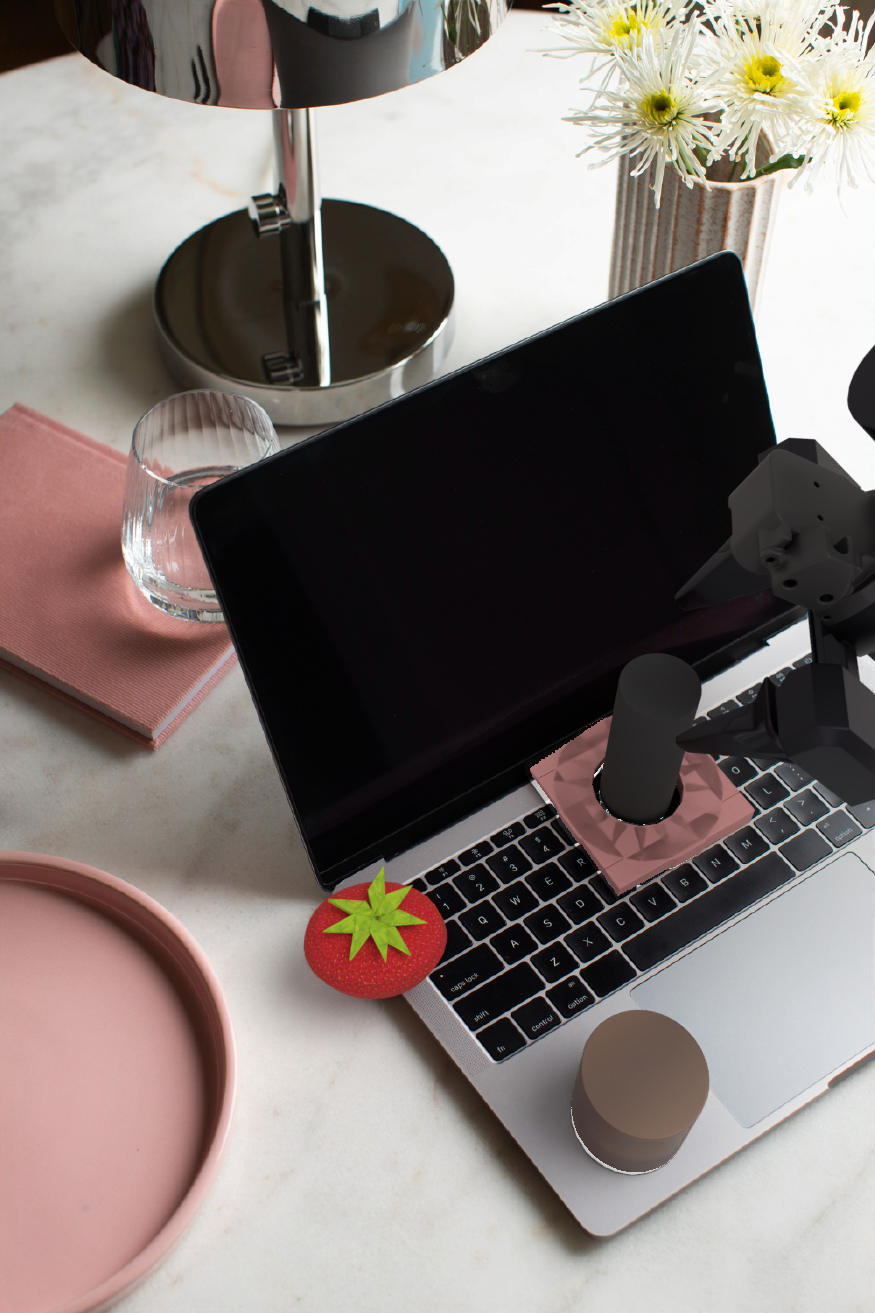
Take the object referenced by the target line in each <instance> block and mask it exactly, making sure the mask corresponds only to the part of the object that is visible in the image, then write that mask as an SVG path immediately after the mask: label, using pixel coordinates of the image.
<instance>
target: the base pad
mask: <svg viewBox="0 0 875 1313" xmlns="http://www.w3.org/2000/svg"><path fill="white" fill-rule="evenodd" d="M602 719H603V718H602ZM599 720H600V719H599ZM611 721H612V715H610V716H608V717H604V719H603V720H600V722H597V724H595V725H594V726H591V728H588V729H587V730H585V731H584V732H583V733H582V734H580V735H579V736H577V737H576V738H574V740H570V742H568V743H567V744H564V745H563V746H562V747H561V748H559V749H558V750H555V753H553V752H552V754H551V755H548V757H545V759H541V761H539V763H538V764H535V765H534V766H532V767H531V768H530V772H531V774H532V777H533V778H534V780H536V781H537V783H538V784H539V785H540V787H541V788H542V790H543V791H544V792H545V794H546V795H547V797H548V798H549V799H550V801H551V802H552V803H553V805H554V807H555V808H556V810H557V813H558V815H559V817H560V818H561V820H562V822H563V823H564V824H565V826H566V828H568V830H569V831H570V832H571V834H572V836H573V837H574V838H575V840H576V841H577V842H578V843H579V844H582V845H583V847H584V849H585V850H586V851H587V853H588V855H590V857H591V859H592V860H593V861H594V863H595V864H596V866H597V867H598V869H599V870H600V871H601V873H602V874H603V875H604V876H605V878H606V880H607V882H609V884H610V885H611V887H612V888H613V889H614V891H615V893H616V894H617V896H619V895H620V894H622V893H624V892H626V891H627V890H630V889H632V888H633V887H635V886H637V885H639V884H640V883H643V882H645V881H646V880H648V879H650V878H652V877H654V876H655V875H657V874H659V873H661V872H663V871H664V870H667V869H668V868H673V867H676V866H677V865H679V864H681V863H683V862H685V861H686V860H688V859H690V858H692V857H693V856H695V855H697V856H699V855H700V854H701V853H702V852H703V851H704V850H705V849H706V848H708V847H710V846H712V845H713V844H715V843H717V842H718V841H720V840H722V839H723V838H725V837H726V836H728V835H730V834H732V833H734V832H735V831H737V830H738V829H741V828H742V827H744V826H746V825H747V824H749V823H750V822H751V821H752V818H753V816H754V813H755V811H756V809H755V808H754V807H753V805H751V803H750V802H749V801H748V800H747V798H746V797H744V795H743V794H742V793H741V792H740V790H739V789H738V788H737V787H736V786H735V784H734V783H733V782H732V781H731V780H730V778H728V776H727V775H726V774H725V772H723V771H722V769H720V767H719V766H718V765H717V762H716V761H715V758H713V756H712V755H709V754H698V753H688V752H686V751H685V754H684V758H683V761H682V765H681V768H680V771H679V775H678V778H677V782H676V783H677V787H678V790H679V793H680V796H681V798H680V797H679V802H680V805H679V804H678V806H677V808H676V809H675V811H674V812H673V813H672V815H670V816H667V817H666V818H665V819H662V820H661V821H660V822H658V823H657V824H651V825H644V826H638V825H633V824H628V823H624V822H621V821H620V820H618V819H617V818H615V817H613V816H612V815H610V814H608V813H607V812H606V811H605V810H604V809H603V807H602V806H601V805H600V803H599V800H597V797H596V793H595V789H594V785H592V784H594V780H595V779H594V774H595V773H596V772H597V771H598V769H599V768H600V767H601V765H602V764H603V763H604V759H605V753H606V748H607V743H608V737H609V732H610V726H611ZM593 779H594V780H593ZM677 787H676V788H677ZM721 838H722V839H721ZM719 839H720V840H719ZM714 842H715V843H714ZM712 843H713V844H712ZM709 845H710V846H709ZM707 846H708V847H707ZM701 851H702V852H701ZM700 852H701V853H700ZM699 853H700V854H699ZM698 854H699V855H698ZM695 857H696V856H695ZM692 859H693V858H692ZM690 860H691V859H690ZM685 863H686V862H685ZM683 864H684V863H683ZM667 871H668V870H667Z"/></svg>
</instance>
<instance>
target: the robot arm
mask: <svg viewBox="0 0 875 1313" xmlns="http://www.w3.org/2000/svg"><path fill="white" fill-rule="evenodd" d="M847 390H848V391H847V396H846V403H847V404H846V405H847V409H848V411H849V413H850V415H851V417H852V418H853V420H854V421H855V423H857V424H858V425H859V426H860V428H861V429H862V430H863V431H864V432H865V433H866V434H867V436H868V437H870V439H872V441H873V442H875V344H874V345H873V346H872V347H871V348H870V349H869V350H868V351H867V353H866V354H865V355H864V356H863V358H862V359H861V360H860V362H859V364H858V366H857V367H856V369H855V371H854V372H853V375H852V377H851V380H850V382H849V385H848V389H847ZM757 461H758V465H757V466H756V467H755V468H754V469H753V470H752V471H751V472H750V473H749V474H748V476H746V477H745V478H744V479H743V481H742V482H741V483H739V485H738V486H737V487H736V488H735V489H734V490H733V491H732V492H731V493H730V495H728V499H727V501H728V502H727V507H728V509H729V510H730V511H731V529H732V532H731V533H732V534H731V535H730V536H729V538H728V539H727V540H726V541H725V543H723V544H722V546H721V547H720V548H718V550H717V551H716V552H715V553H714V554H713V555H712V556H711V557H710V558H709V559H708V560H707V561H706V562H705V563H704V564H703V565H702V566H701V567H700V568H699V569H698V570H697V571H696V572H695V574H694V575H693V576H692V577H690V579H689V580H688V581H686V583H685V584H684V585H683V586H682V587H681V588H680V589H679V590H678V591H677V592H676V594H674V597H673V599H674V600H673V601H674V602H673V603H674V604H675V605H677V606H678V607H679V608H680V609H682V610H683V611H691V610H695V609H702V608H706V607H711V606H714V605H719V604H722V603H725V602H728V601H731V600H734V599H738V598H741V597H745V596H747V595H750V594H754V593H757V592H758V593H759V592H761V591H764V590H767V589H771V593H772V594H773V595H774V596H775V597H778V598H779V599H782V600H785V601H787V602H789V603H792V604H794V605H797V606H798V607H799V606H800V607H801V608H805V609H806V610H807V611H806V612H807V622H808V630H809V631H808V632H809V641H810V651H811V652H810V653H811V662H808V663H805V664H803V665H801V666H799V667H795V668H793V669H791V670H789V671H788V673H787V674H786V676H784V678H783V680H782V681H781V683H780V684H778V683H776V682H775V681H774V680H773V679H771V678H770V677H769V676H765V677H764V678H763V680H762V682H761V685H760V687H759V689H758V692H757V695H756V697H755V698H754V700H753V701H750V702H748V703H746V704H743V705H740V706H738V707H735V708H734V709H731V710H729V711H726V712H724V713H722V714H720V715H717V716H714V717H712V718H709V719H707V720H704V721H703V722H700V723H698V724H695V725H693V727H692V728H690V729H688V730H687V731H685V732H683V733H681V734H680V735H678V736H677V737H676V745H677V746H678V747H680V748H681V749H683V750H684V751H686V752H688V753H698V754H709V755H711V756H721V757H732V758H733V757H734V758H743V759H744V758H745V759H755V760H756V759H757V760H765V761H773V762H778V763H784V764H788V765H793V766H798V768H800V769H801V770H803V771H804V772H805V773H806V774H808V775H809V776H810V777H811V778H813V780H816V781H817V782H818V783H819V784H820V785H822V786H823V787H825V788H826V789H827V790H828V791H830V792H831V793H832V794H833V795H835V796H836V797H837V798H839V799H840V800H842V801H843V802H844V803H845V804H846V805H848V806H849V807H850V808H853V807H856V806H859V805H862V804H865V803H868V802H871V801H872V802H873V801H875V692H873V690H871V689H870V688H869V687H868V686H867V685H865V683H863V682H862V681H861V676H860V670H859V668H860V667H859V661H858V658H861V657H864V656H868V657H869V658H870V659H871V660H872V661H874V662H875V488H873V489H870V490H863V489H862V486H861V485H860V484H859V483H858V482H857V481H856V480H855V479H854V478H853V477H852V476H851V475H850V474H849V473H848V472H847V470H845V469H844V468H843V467H842V465H841V464H840V463H838V461H837V460H836V459H835V458H834V456H832V455H831V454H830V453H829V452H828V451H827V450H826V449H825V448H824V447H823V446H822V445H821V443H820V442H819V441H817V439H815V438H806V437H805V438H803V437H787V438H786V439H784V440H782V441H780V442H778V443H777V444H775V445H773V446H770V447H769V448H768V449H766V450H764V451H763V452H761V453H759V454H757Z"/></svg>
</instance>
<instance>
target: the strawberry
mask: <svg viewBox="0 0 875 1313" xmlns="http://www.w3.org/2000/svg"><path fill="white" fill-rule="evenodd" d="M385 880H386V879H385V865H383V866H382V867H381V868H380V870H379V872H378V874H377V875H376V877H375V878H374V880H373V881H366V882H361V883H356V884H354V885H351V886H347V887H345V888H342V889H341V890H339V891H337V892H335V893H333V894H331V895H330V896H329V897H327V898H325V899H324V900H323V901H322V903H320V904H319V905H318V907H316V908H315V910H314V912H313V913H312V915H311V916H310V918H309V920H308V923H307V926H306V929H305V932H304V936H303V947H302V948H303V953H304V959H305V960H306V963H307V965H308V967H309V968H310V970H311V971H312V972H313V973H314V975H315V976H316V977H317V978H319V979H320V980H321V981H322V982H324V983H325V984H326V985H327V986H328V987H331V988H332V989H334V990H335V991H338V992H339V993H341V994H344V995H346V996H348V997H353V998H357V999H364V1000H383V999H387V998H392V997H396V996H399V995H402V994H404V993H407V992H408V991H410V990H412V989H414V988H416V987H417V986H418V985H419V984H421V983H422V982H423V981H424V980H426V978H427V977H428V976H429V975H430V974H431V973H432V972H433V970H434V969H435V968H436V966H437V965H438V964H439V962H440V960H441V958H442V957H443V955H444V953H445V950H446V947H447V946H446V945H447V943H448V930H447V926H446V923H445V920H444V918H443V917H442V914H441V913H440V911H439V909H438V907H437V906H436V904H435V903H434V902H433V901H432V900H431V899H430V898H429V897H428V896H427V895H425V894H424V893H422V892H421V891H420V890H418V889H416V888H414V887H413V886H414V885H413V884H411V885H410V884H409V885H406V884H403V883H399V882H393V881H385Z"/></svg>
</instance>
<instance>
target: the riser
mask: <svg viewBox="0 0 875 1313" xmlns="http://www.w3.org/2000/svg"><path fill="white" fill-rule="evenodd" d="M709 1072H710V1071H709V1066H708V1063H707V1059H706V1057H705V1054H704V1052H703V1050H702V1048H701V1046H700V1044H699V1043H698V1041H697V1040H696V1039H695V1037H694V1036H693V1035H692V1034H691V1032H689V1031H688V1030H687V1028H685V1027H684V1026H683V1025H681V1023H679V1022H678V1021H676V1020H674V1019H673V1018H671V1017H669V1016H667V1015H665V1014H663V1013H661V1012H656V1011H653V1010H647V1009H630V1010H625V1011H621V1012H618V1013H615V1014H613V1015H611V1016H609V1017H607V1018H606V1019H604V1020H603V1021H602V1022H600V1024H598V1025H597V1026H596V1027H595V1028H594V1029H593V1031H592V1032H591V1034H590V1035H589V1037H588V1039H587V1040H586V1042H585V1045H584V1047H583V1050H582V1053H581V1057H580V1062H579V1065H578V1070H577V1073H576V1078H575V1081H574V1086H573V1089H572V1093H571V1097H572V1100H571V1099H570V1104H571V1107H572V1108H571V1109H572V1116H573V1121H574V1125H575V1128H576V1131H577V1133H578V1135H579V1137H580V1138H581V1140H582V1141H583V1143H584V1145H585V1146H586V1147H587V1148H588V1150H589V1151H590V1152H591V1153H592V1154H593V1155H594V1156H595V1157H596V1158H598V1159H599V1160H600V1161H602V1162H603V1163H605V1164H607V1165H609V1166H611V1167H613V1168H616V1169H617V1170H621V1171H626V1172H646V1171H649V1170H653V1169H656V1168H659V1167H660V1166H662V1165H664V1164H666V1163H667V1162H668V1161H669V1160H670V1159H671V1160H672V1159H673V1158H674V1157H675V1156H676V1155H677V1153H678V1152H679V1151H680V1149H681V1147H682V1145H683V1144H684V1142H685V1141H686V1139H687V1137H688V1136H689V1133H690V1132H691V1130H692V1129H693V1127H694V1125H695V1124H696V1122H697V1121H698V1119H699V1117H700V1115H701V1114H702V1111H703V1109H704V1108H705V1106H706V1103H707V1099H708V1096H709V1092H710V1073H709ZM677 1151H678V1152H677ZM675 1154H676V1155H675ZM674 1155H675V1156H674ZM673 1156H674V1157H673ZM672 1157H673V1158H672ZM671 1160H670V1161H671ZM670 1161H669V1162H670ZM669 1162H668V1163H669ZM668 1163H667V1164H668ZM667 1164H666V1165H667Z"/></svg>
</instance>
